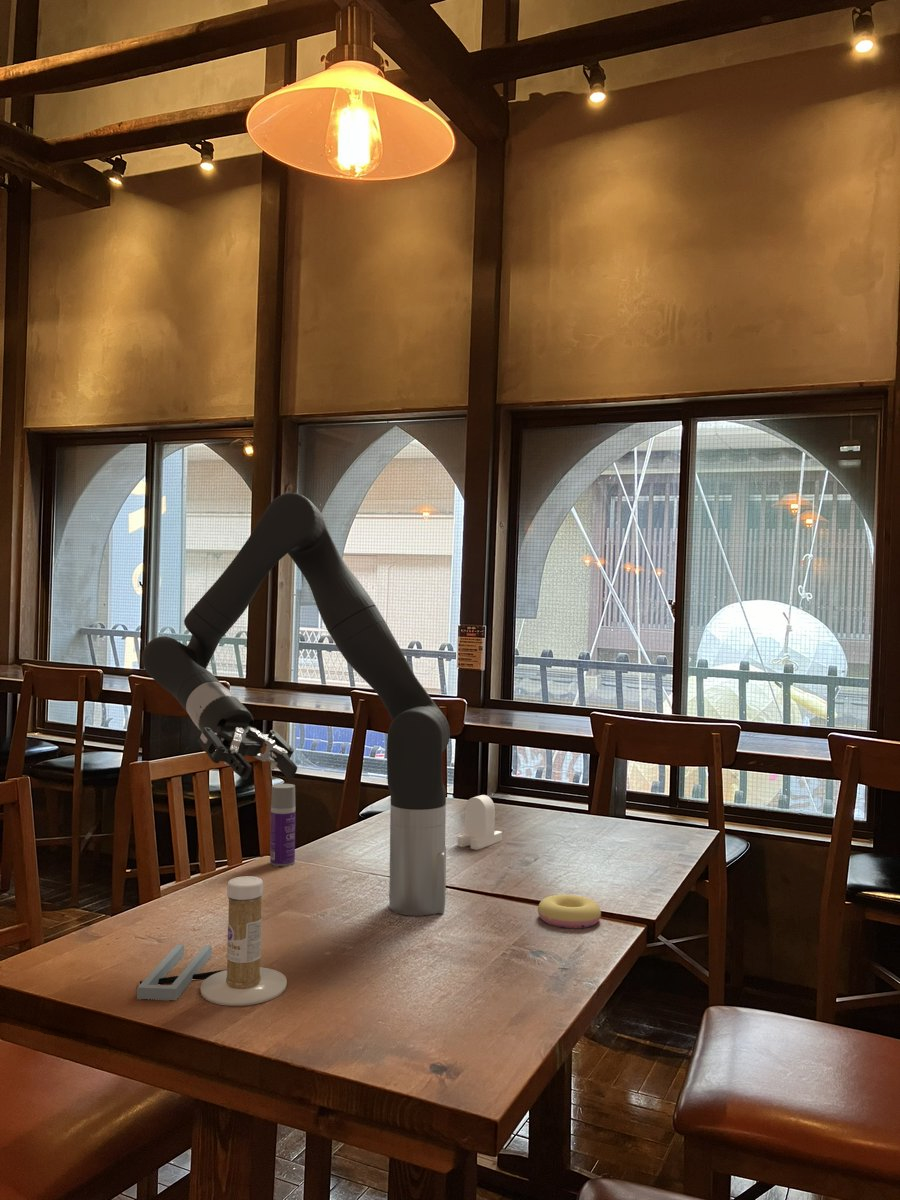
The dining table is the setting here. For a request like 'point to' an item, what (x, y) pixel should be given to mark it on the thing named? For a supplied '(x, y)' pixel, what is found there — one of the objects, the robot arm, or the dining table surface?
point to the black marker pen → (195, 976)
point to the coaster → (243, 989)
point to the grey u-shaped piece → (168, 992)
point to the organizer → (479, 824)
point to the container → (282, 825)
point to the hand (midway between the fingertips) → (271, 774)
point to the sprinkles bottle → (244, 931)
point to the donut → (569, 911)
